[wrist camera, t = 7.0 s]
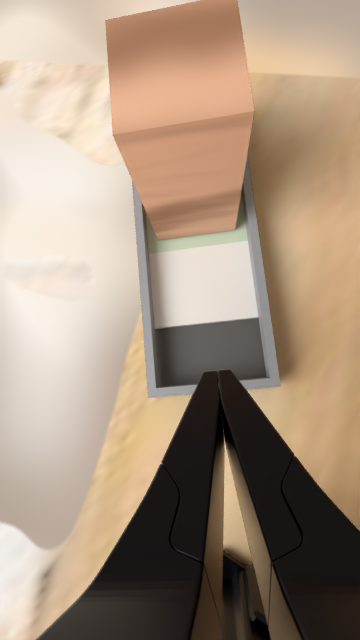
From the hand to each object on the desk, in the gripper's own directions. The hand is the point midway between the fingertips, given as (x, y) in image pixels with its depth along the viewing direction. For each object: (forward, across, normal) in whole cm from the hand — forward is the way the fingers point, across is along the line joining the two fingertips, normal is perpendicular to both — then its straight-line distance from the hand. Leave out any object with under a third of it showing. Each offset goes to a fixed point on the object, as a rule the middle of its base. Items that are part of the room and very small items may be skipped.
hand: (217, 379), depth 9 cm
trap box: (+16, 0, +2) cm, 17 cm away
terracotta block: (+19, 0, -1) cm, 19 cm away
